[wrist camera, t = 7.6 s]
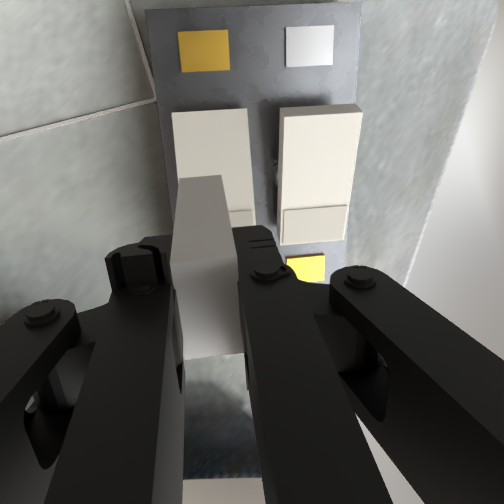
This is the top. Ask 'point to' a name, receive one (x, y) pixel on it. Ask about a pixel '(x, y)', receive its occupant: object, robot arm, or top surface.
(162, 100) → the switch unit
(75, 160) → the top surface
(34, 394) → the robot arm
